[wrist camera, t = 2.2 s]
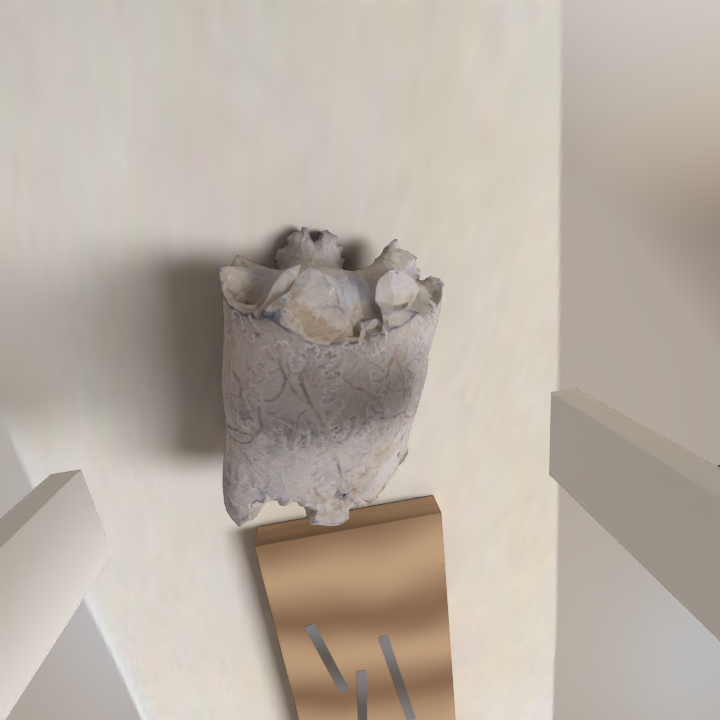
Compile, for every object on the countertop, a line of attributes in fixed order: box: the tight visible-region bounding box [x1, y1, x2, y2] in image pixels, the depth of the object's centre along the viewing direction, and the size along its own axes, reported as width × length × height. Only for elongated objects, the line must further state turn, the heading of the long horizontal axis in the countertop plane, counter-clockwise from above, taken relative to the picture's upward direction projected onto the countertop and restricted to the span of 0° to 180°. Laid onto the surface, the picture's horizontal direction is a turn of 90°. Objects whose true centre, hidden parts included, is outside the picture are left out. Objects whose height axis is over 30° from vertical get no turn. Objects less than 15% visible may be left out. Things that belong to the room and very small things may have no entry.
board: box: [255, 496, 455, 720], centre depth 25 cm, size 24×10×2 cm, turn 7°
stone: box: [219, 227, 444, 526], centre depth 16 cm, size 8×12×7 cm, turn 173°
